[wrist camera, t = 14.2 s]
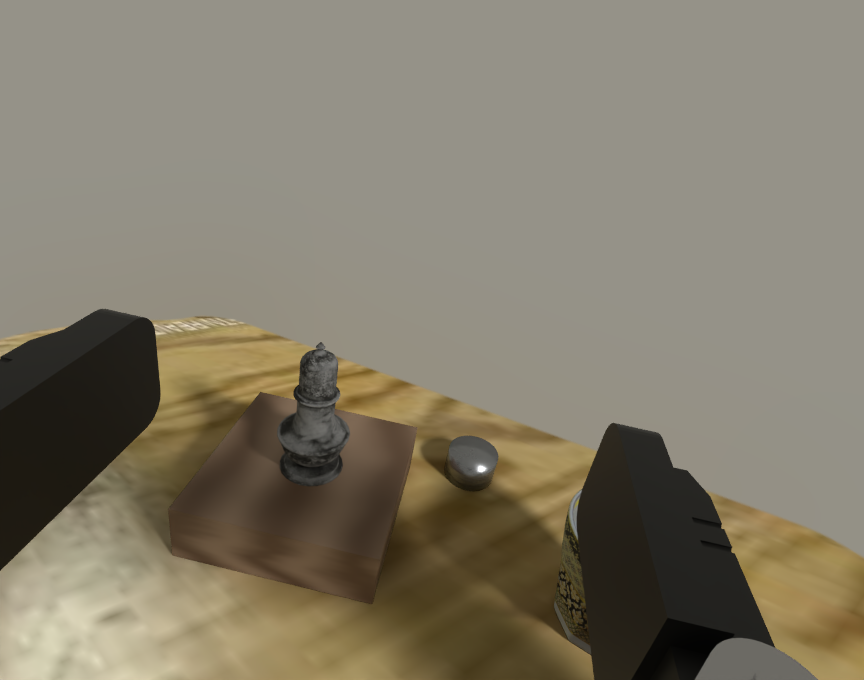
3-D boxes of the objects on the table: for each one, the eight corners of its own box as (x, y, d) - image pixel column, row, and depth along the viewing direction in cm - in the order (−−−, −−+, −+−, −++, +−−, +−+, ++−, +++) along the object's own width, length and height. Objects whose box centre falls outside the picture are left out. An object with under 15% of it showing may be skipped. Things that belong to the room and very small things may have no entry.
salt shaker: (358, 475, 46) (374, 354, 40) (292, 498, 43) (300, 370, 37) (327, 434, 50) (338, 319, 44) (264, 452, 47) (268, 330, 41)
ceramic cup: (558, 547, 49) (591, 463, 45) (669, 610, 45) (719, 525, 41) (498, 661, 39) (532, 568, 34) (634, 754, 35) (695, 664, 31)
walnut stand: (410, 466, 56) (417, 427, 53) (372, 604, 41) (379, 559, 39) (259, 431, 56) (260, 392, 54) (172, 555, 42) (168, 509, 40)
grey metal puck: (492, 463, 58) (499, 442, 57) (490, 496, 54) (497, 474, 52) (447, 453, 58) (452, 431, 57) (441, 485, 54) (446, 462, 53)
